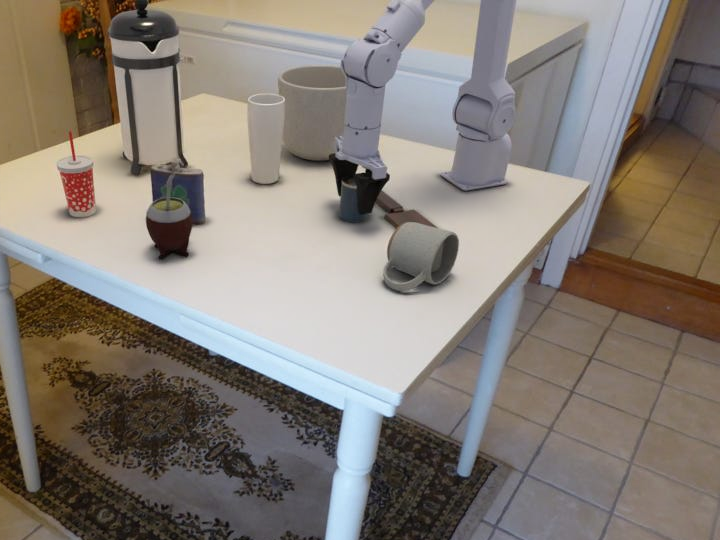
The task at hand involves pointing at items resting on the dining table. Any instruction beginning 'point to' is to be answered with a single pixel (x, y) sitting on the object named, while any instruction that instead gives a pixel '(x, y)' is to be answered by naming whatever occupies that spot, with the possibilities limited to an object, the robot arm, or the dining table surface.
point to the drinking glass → (265, 136)
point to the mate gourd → (169, 224)
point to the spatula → (399, 212)
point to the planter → (313, 109)
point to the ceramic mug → (420, 254)
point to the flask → (180, 187)
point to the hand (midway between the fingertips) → (354, 204)
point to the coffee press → (148, 86)
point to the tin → (350, 201)
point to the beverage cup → (78, 182)
